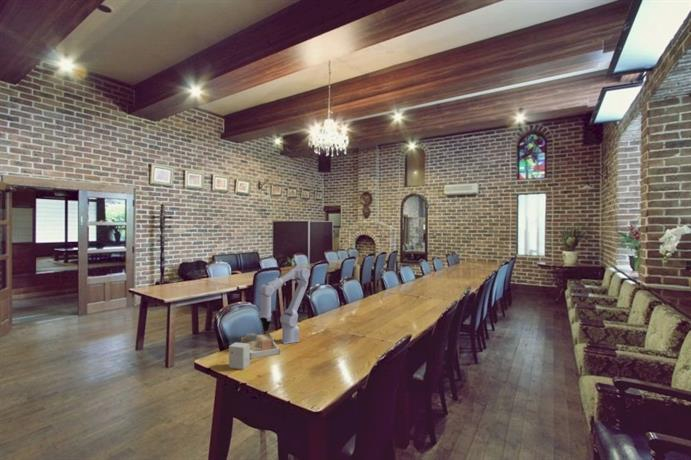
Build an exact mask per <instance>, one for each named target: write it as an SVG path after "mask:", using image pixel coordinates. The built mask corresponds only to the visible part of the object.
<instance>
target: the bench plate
mask: <svg viewBox="0 0 691 460" xmlns="http://www.w3.org/2000/svg"><path fill="white" fill-rule="evenodd" d="M256 335H257V340H253V341H247V340H246V336H241V337H240V343H247V344H249V347H250V350H252V349H258V348H261V340H266V339H271V346H273V342H275V339H274V338H273V336H272V335H271V334H270V333H263V334H262V333H261V334H256Z"/></svg>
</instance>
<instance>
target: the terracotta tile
mask: <svg viewBox="0 0 691 460" xmlns="http://www.w3.org/2000/svg"><path fill="white" fill-rule="evenodd" d="M261 350H262V351H265V350H271V339H266V340H261Z"/></svg>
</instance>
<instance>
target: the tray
mask: <svg viewBox="0 0 691 460" xmlns="http://www.w3.org/2000/svg"><path fill="white" fill-rule="evenodd" d="M280 354H281V348H280V347H279V346H278V345H277V343H276V342H275V341H274V342H273V346H271V350H265V351H262V350H261V348H258V349H252V350H250V360H254V359H259V358H265V357H273V356H277V355H280Z"/></svg>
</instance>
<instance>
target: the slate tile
mask: <svg viewBox="0 0 691 460" xmlns="http://www.w3.org/2000/svg"><path fill="white" fill-rule="evenodd" d="M257 335H258V334H256V333H255V332H254V333H253V332H252V333H246V334H245V337H246V340H247V341H253V340H257Z"/></svg>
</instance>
